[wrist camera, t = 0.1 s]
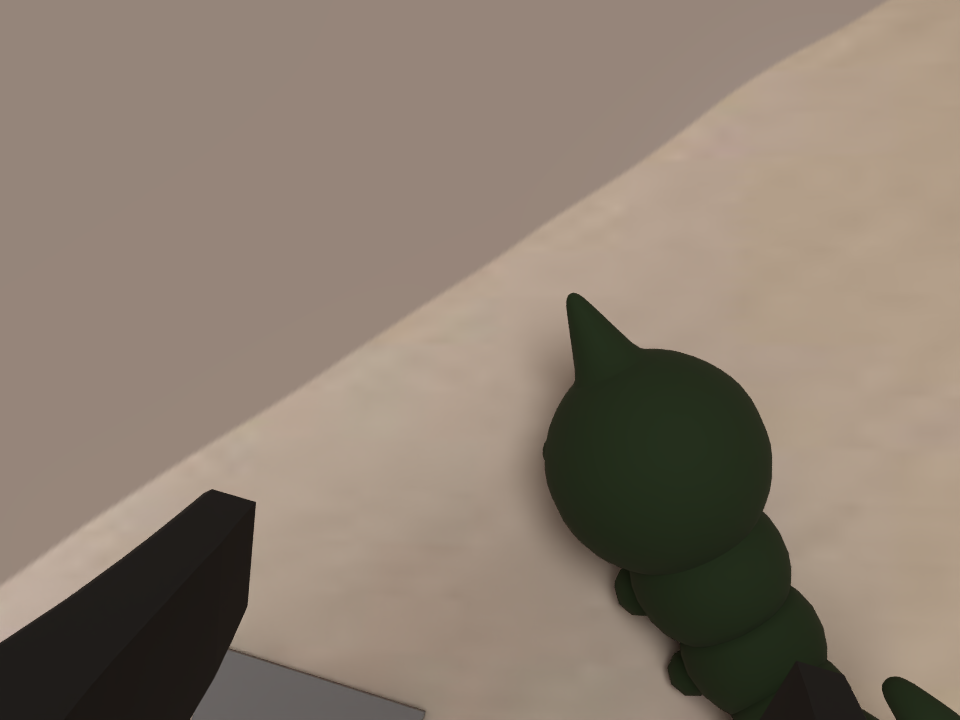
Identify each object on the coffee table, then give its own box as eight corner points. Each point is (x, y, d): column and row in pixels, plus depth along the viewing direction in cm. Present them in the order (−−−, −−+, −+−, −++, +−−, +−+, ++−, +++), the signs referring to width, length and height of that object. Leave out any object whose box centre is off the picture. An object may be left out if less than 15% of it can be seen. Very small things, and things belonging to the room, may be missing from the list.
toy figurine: (885, 734, 43) (620, 293, 47) (1238, 885, 25) (756, 134, 28) (724, 843, 42) (462, 379, 45) (970, 1089, 23) (495, 271, 27)
